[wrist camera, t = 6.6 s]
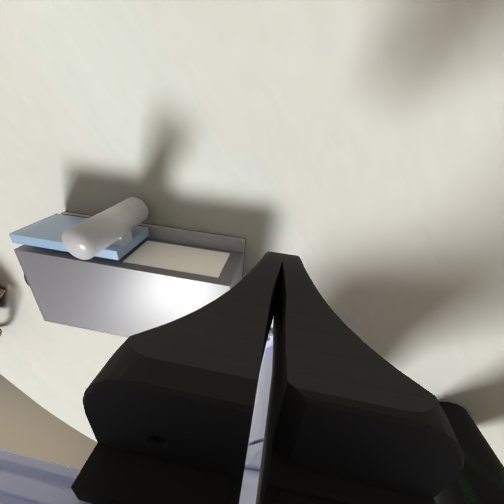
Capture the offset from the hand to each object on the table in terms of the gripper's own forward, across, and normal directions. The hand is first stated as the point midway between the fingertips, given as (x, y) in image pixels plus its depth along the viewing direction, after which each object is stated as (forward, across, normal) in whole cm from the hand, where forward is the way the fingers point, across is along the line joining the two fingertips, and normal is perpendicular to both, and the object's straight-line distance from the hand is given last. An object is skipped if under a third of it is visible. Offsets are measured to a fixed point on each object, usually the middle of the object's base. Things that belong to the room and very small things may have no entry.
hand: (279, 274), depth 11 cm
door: (+9, +15, +2) cm, 17 cm away
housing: (+9, +11, +8) cm, 17 cm away
